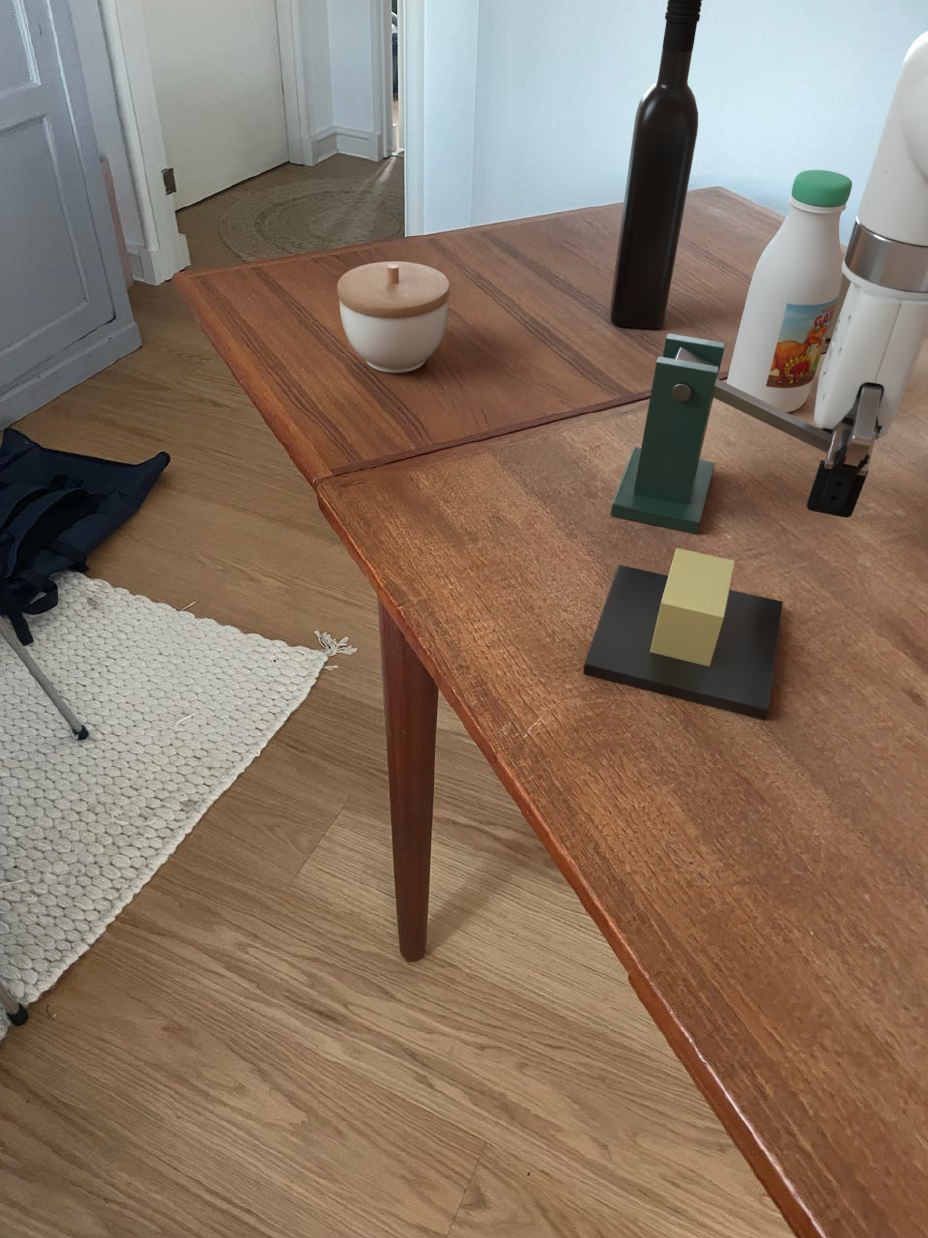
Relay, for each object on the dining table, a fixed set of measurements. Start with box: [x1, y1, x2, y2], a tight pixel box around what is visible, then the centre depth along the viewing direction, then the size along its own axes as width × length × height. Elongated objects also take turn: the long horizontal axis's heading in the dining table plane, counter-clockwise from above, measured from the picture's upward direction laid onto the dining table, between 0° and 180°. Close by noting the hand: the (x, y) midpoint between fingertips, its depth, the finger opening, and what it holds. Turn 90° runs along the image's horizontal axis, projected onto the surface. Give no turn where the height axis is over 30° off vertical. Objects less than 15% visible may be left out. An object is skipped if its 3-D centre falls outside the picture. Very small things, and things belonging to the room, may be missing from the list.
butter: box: [650, 547, 736, 667], centre depth 63 cm, size 4×6×4 cm, turn 161°
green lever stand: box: [610, 333, 727, 535], centre depth 73 cm, size 7×9×13 cm
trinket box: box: [336, 260, 451, 374], centre depth 91 cm, size 11×11×9 cm
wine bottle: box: [609, 0, 703, 330], centre depth 92 cm, size 6×6×30 cm
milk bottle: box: [726, 169, 853, 413], centre depth 83 cm, size 8×8×20 cm
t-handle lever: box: [674, 347, 850, 454], centre depth 70 cm, size 15×5×2 cm, turn 71°
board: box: [582, 564, 784, 721], centre depth 65 cm, size 12×11×1 cm
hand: (831, 476), depth 72 cm, fingers open, 9 cm apart
